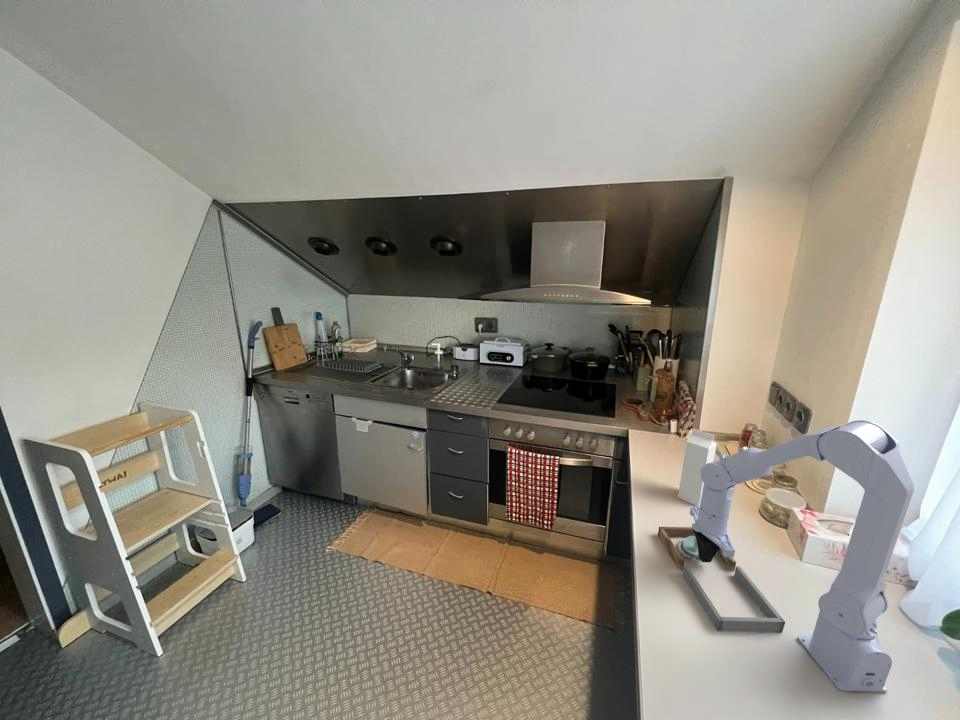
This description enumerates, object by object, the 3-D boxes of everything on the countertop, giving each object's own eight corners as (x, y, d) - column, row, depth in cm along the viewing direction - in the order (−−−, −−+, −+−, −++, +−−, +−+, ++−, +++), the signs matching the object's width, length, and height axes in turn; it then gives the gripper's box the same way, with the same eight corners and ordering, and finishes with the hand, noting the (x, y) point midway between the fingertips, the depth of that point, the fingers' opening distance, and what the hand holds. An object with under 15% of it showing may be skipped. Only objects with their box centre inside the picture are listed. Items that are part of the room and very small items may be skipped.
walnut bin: (734, 571, 89) (736, 562, 89) (679, 570, 89) (681, 561, 89) (706, 535, 101) (707, 527, 100) (657, 534, 101) (659, 526, 100)
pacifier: (676, 557, 94) (704, 566, 91) (678, 535, 92) (707, 543, 89) (677, 538, 100) (704, 546, 97) (680, 517, 98) (707, 525, 95)
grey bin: (782, 632, 75) (785, 621, 74) (717, 630, 75) (719, 620, 74) (737, 575, 88) (739, 566, 87) (682, 574, 88) (683, 565, 88)
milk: (698, 507, 112) (710, 439, 106) (677, 497, 117) (687, 431, 111) (706, 499, 116) (719, 432, 110) (686, 490, 120) (696, 425, 114)
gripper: (680, 490, 94) (673, 538, 97) (715, 531, 80) (704, 585, 83) (709, 491, 94) (701, 538, 97) (749, 532, 80) (737, 585, 83)
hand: (704, 560), depth 90 cm, fingers closed
